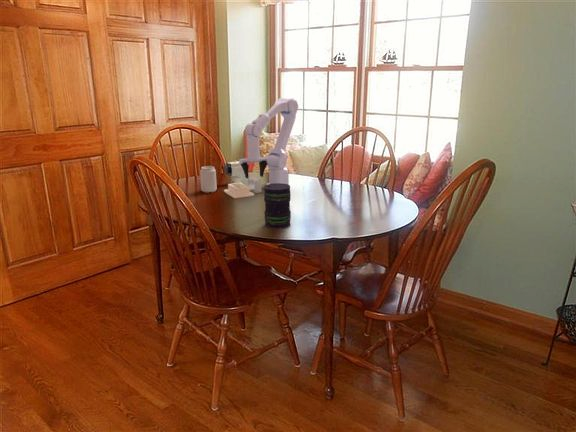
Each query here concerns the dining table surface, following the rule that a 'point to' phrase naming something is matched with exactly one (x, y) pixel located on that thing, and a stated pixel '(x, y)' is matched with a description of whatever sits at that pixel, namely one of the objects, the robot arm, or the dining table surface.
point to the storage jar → (277, 205)
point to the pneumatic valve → (234, 171)
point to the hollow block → (238, 190)
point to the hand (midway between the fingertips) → (254, 177)
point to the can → (208, 179)
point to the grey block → (254, 184)
